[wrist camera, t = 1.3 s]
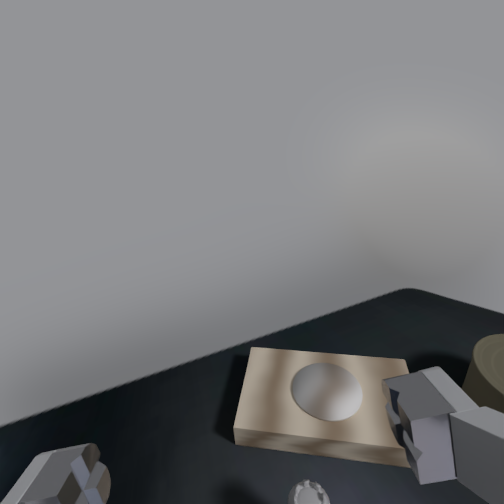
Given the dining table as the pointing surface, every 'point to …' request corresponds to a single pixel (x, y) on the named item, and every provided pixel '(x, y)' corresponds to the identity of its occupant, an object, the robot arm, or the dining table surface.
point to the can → (487, 373)
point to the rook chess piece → (308, 494)
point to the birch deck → (318, 405)
